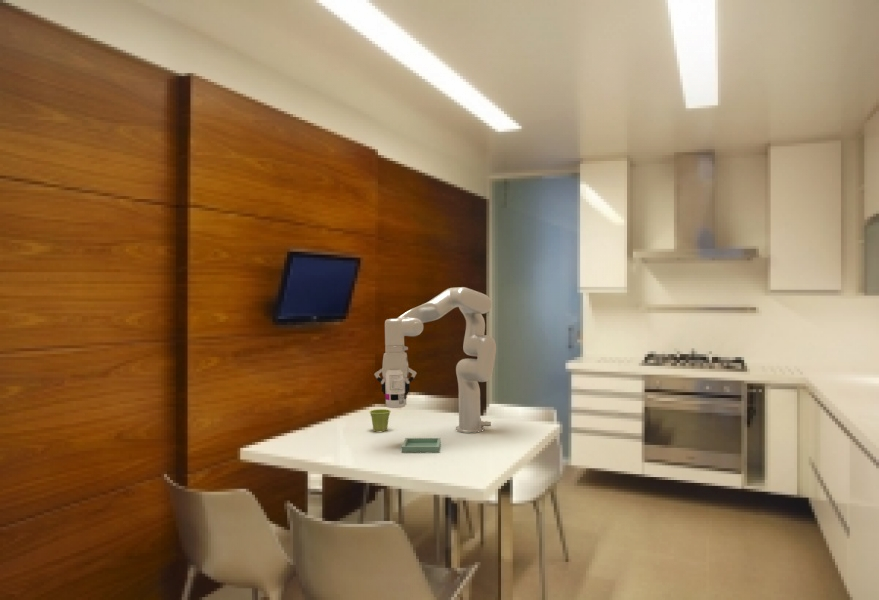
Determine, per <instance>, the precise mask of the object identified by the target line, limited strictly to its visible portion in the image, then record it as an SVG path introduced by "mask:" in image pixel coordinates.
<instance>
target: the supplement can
mask: <svg viewBox="0 0 879 600" xmlns="http://www.w3.org/2000/svg"><path fill="white" fill-rule="evenodd" d="M405 384H406V381H405V378H404V377H403V372H402V371H401V369H400V370H388V371H387V372H386V378H385V393H386V394H384V396H385V406H386V407H387V408H389V409H401V408H405V407H406V405H407V394H406V392H405Z"/></svg>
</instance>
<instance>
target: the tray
mask: <svg viewBox="0 0 879 600" xmlns="http://www.w3.org/2000/svg"><path fill="white" fill-rule="evenodd" d="M440 443H441V438H440V437H406V438H405V439H404V441H403V443H402V445H401V453H402V454H403V453H404V454H405V453H406V454H411V453H412V454H414V453H415V454H419V453H420V452H421V453H420V454H422V453H424V454H425V453H426V452H432V454H436V453H437V454H438V453H440V449H441V444H440Z"/></svg>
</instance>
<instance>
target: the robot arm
mask: <svg viewBox="0 0 879 600" xmlns="http://www.w3.org/2000/svg"><path fill="white" fill-rule="evenodd" d="M455 308H459V311H460V312H461V314H462V316H463V317H464V319H465V333H464V337H463V345H462V346H463V347H462V349H463V350H462V351H463V353H465V354H466V355H467V356H471V357H477V358H462V359H461V360H458V362H457V364H456V366H455V373H456V377H457V385H458V387H457V388H458V425H457V426H455V430H457V431H456V432H458V431H460V432H459V433H463V432H476V433H479V432H478V431H481V432H483V431H485V427H491V426H492V421H487V420H486V421H483V420H482V418H481V389H480V385H479V383H484V382H488V381H489V380H490V379H491V378H492V375H493V372H494V366H495V361H496V353H497V345H496V344H497V343H496V341H495V339H494V337H492V336H490V335H487V334H486V335H485V330H486V323H485V318H484V317H483V314H487V313H488V312H490V310H491V308H492V299H491V298H490V297H489V296H488V295H487V294H484V293H482V292H480V291H476V290H474V289H471V288H468V287H465V286H461V287H457V286H456V287H450V288H449V287H448V288H447V289H445V290H443V291H442V292H440V293H439V294H438V295H436V296H434V297H433V298H432V299H430V300H429V301H427V302H425V303H422V304H421V305H418V306H416V307H413V308H411V309H409V310H407V311H406V312H404V313H403V314H401V315H400V316H398V317H397V318H389V319H388V318H387V319H386V320H385V321H384V346H385V349H384V350H385V353H383V358H382V368H380V369H379V370H378V371H377V370H376V372H375V373H374V374H373V375H374V376H375V378H376V380H377V381H378V382H379V383H380V384H381V392H382V393H383V395H385V394H386V393H385V378H386V372H387V371H388V370H400V369H401V371H402V372H403V377H404V378H405V381H406V384H405V392H406V395H407V394H409V392H410V391H411V387H410V386H411V385H410V383H411V382H412V381H413V380H414V379H415V377H416V375H417V372H416V371H415V370H413V369H412V368H410V367H409V359H408V354H407V352H405V351H408V350H409V347H408V346H405V337H418V336H419V335H421V333H422V332H423V331H424V323H429V322H433V321H436V320H439V319H441V318H442V317H444V316H445V315H447V314H448V313H449V312H451V311H452V310H453V309H455ZM409 373H410V374H411V375H410V377H409ZM380 374H381V375H382V377H381V376H380ZM482 430H483V431H482Z"/></svg>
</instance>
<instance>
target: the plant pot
mask: <svg viewBox="0 0 879 600" xmlns="http://www.w3.org/2000/svg"><path fill="white" fill-rule="evenodd" d="M369 413H370V417H371V422H372V430H373V432H376V431H383V432H384V431H385V430H387V431H388V425H389V417H390V414H391V410H390V409H387V408H386V409H373V410H370V411H369ZM385 432H386V431H385Z"/></svg>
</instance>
